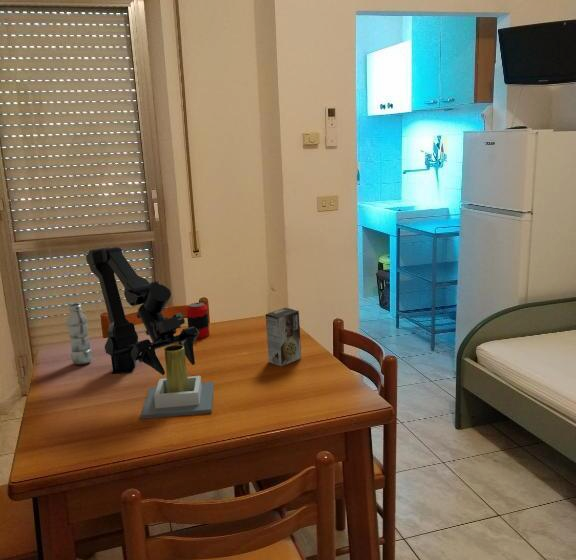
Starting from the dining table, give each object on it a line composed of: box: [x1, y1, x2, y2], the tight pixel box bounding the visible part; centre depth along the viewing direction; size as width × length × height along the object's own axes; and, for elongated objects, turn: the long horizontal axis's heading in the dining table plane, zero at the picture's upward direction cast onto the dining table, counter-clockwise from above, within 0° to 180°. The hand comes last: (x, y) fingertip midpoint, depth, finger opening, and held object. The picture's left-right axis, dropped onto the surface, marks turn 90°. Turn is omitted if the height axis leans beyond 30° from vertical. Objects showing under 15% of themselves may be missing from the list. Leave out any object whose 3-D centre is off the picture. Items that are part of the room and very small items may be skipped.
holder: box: [140, 375, 215, 420], centre depth 151 cm, size 18×18×4 cm
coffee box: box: [265, 307, 302, 367], centre depth 175 cm, size 9×6×16 cm
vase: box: [163, 344, 189, 393], centre depth 150 cm, size 6×6×14 cm
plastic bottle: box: [65, 303, 94, 365], centre depth 181 cm, size 6×7×20 cm
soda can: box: [186, 302, 210, 340], centre depth 205 cm, size 8×8×12 cm
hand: (179, 369), depth 148 cm, fingers open, 9 cm apart
